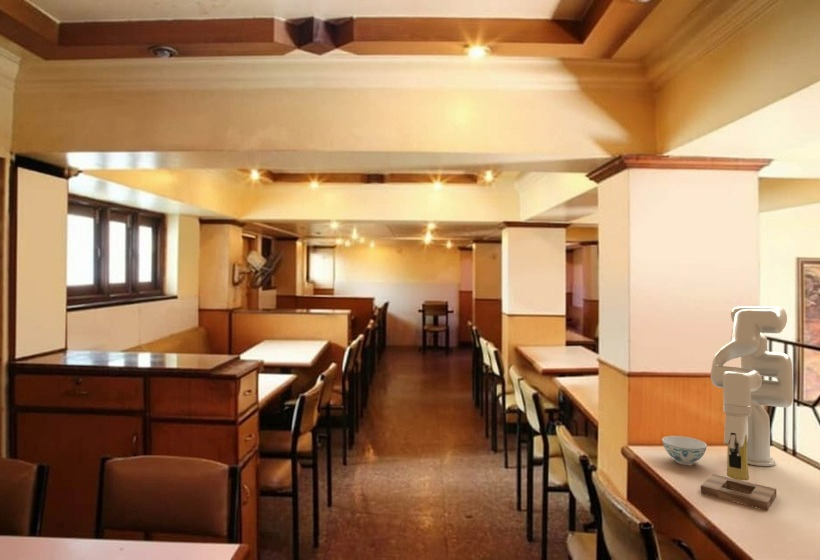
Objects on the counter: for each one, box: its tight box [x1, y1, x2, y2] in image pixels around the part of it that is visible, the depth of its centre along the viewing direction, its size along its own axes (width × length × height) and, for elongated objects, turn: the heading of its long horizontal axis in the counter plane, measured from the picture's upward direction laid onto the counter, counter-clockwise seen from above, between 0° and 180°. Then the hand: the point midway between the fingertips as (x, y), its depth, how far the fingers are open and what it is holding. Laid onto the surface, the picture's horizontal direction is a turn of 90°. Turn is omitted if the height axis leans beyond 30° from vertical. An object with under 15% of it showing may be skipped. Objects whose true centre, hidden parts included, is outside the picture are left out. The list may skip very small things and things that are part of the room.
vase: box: [726, 434, 750, 481], centre depth 160 cm, size 6×6×14 cm
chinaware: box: [661, 435, 708, 466], centre depth 190 cm, size 15×15×8 cm
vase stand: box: [700, 473, 777, 511], centre depth 160 cm, size 14×18×2 cm
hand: (737, 464), depth 160 cm, fingers closed on vase, 5 cm apart
